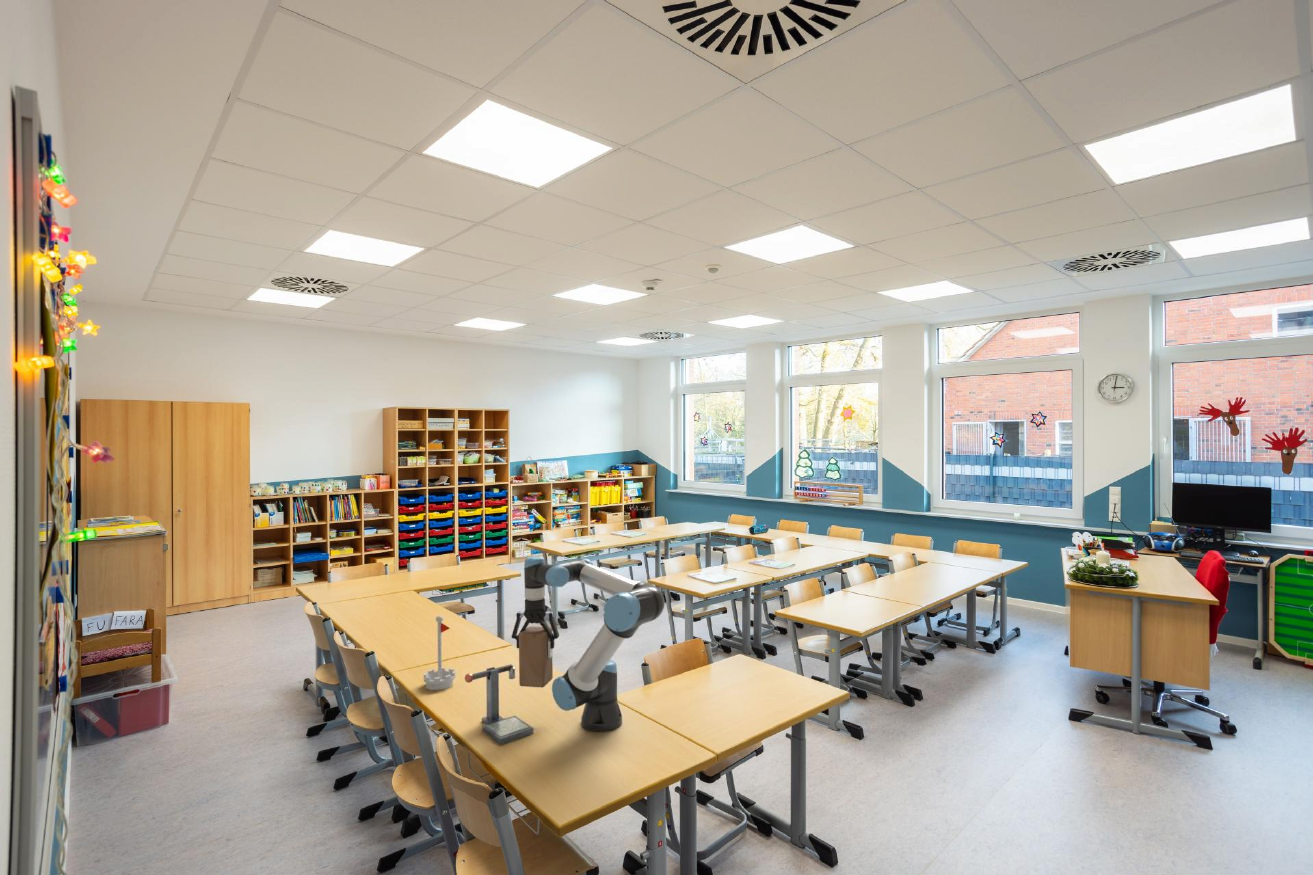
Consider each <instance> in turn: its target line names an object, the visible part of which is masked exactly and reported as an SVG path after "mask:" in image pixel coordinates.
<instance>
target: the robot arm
mask: <svg viewBox="0 0 1313 875" xmlns="http://www.w3.org/2000/svg"><path fill="white" fill-rule="evenodd" d="M523 564H524V566H523V570H524V572H523V573H524V574H523V576H524V577H523V578H524V598H525V600H524V611H517V613H516V615H515V616H516V620H515V623H514V627H513V630H512V632H511V633H512V634H511V636H510V637H511V639H514V640H515V641H516V649H519V633H520V632H522V631H524V630H525V629H526V628H528V627H529V626H530V625H529V624H540V627H543V629H544V630H545V631H546V632H547V635H548V637H549V640H548V658H551V657H552V658H553V649H554V648H555V640H557V639H558V638H559V637H560V632H559V631H558V627H557V624H556V621H555V616H554V611H546V599H545V596H546V586H550V587H553V588H562V587H564V586H566V584H568V583H570V582H579V583H581V584H585V585H587V586H589V587H592V588H595V589H597V590H599V591H601V592H604V593H606V594H609V595H611V596H610V597H609V598H608V599H607V601H606V602H605V604H604V607H603V612H604V613H603V615H602V616H603V625H602V627H601V628H600V629H599V630H598V632H597V634H596V635H595V636H594V637H593V640H592V641H591V642H590V644H589V646H588V647H587V648H586V650H585V651H584V653H583V654H582V655H581V657H580V658H579V660H578V661H576V662H574V663H572V664H571V665H570V666H569V667H568V669H567V670H566V671H565V673H564V674H563V675H562V676H561V675H560V676H558V677H556V678H555V679H554V680H553V682H552V684H551V692H552V693H551V694H552V697H553V700H554V702H555V703H556V705H557V706H558V707H559V709H561V710H562V711H566V712H568V711H572V710H575V709H577V708H579V707H580V706H583V705H584V708H583V712H582V714H581V717H580V720H581V721H580V722H581V723H580V725H581V726H582V728H584V729H585V730H588V731H591V732H607V731H611V730H612V731H613V730H614V729H615V730H616V729H617V728H619V727H620V726H621V725H622V724H623V715H622V712H621V709H620V706H619V702H618V669H617V668H618V666H617V665H618V664H617V663H616V662H615V661H614V660H612V657H613V656H614V655H615V653H616V652H618V651H617V650H618V649H619V648H620V647H621V645H622V643H624V641H625V640H628V639H630V638H632V637H633V636H634V635H635V633H636V632H637V631H638V629H639V627H641V626H642V625H643V624H647V623H650V622H652V621H654V620H656V619H657V618H659V617H660V616H661V615H662V613H663V611H664V609H665V597H664V595H663V593H662V591H661V590H660V589H659V588H658V587H657V586H655V585H653V584H651V583H649V582H646V581H643V580H638V581H635V580H633V579H630V578H627V577H625V576H622V575H620V574H617V573H614V572H611V571H609V570H607V569H603V568H601V567H598V566H595V565H594V563H593V562H592V561H591V560H590V559H588V558H578V559H574V560H571V561H565V562H560V563H555V564H549V563H546V561H545V558H544V557H543V556H539V555H536V556H535V555H534V556H528V557H526V558H525V559H524V563H523ZM523 617H524V618H525V619H526V620H525V622H524V624H523V625H522V627H521V628H520V626H521V622H522V618H523ZM545 617H547V619H548V621H549V624H550V626H549V625H548V623H547V620H546V619H545ZM549 627H550V628H552V631H551V630H550V628H549ZM519 628H520V631H519ZM518 632H519V633H518Z"/></svg>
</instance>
